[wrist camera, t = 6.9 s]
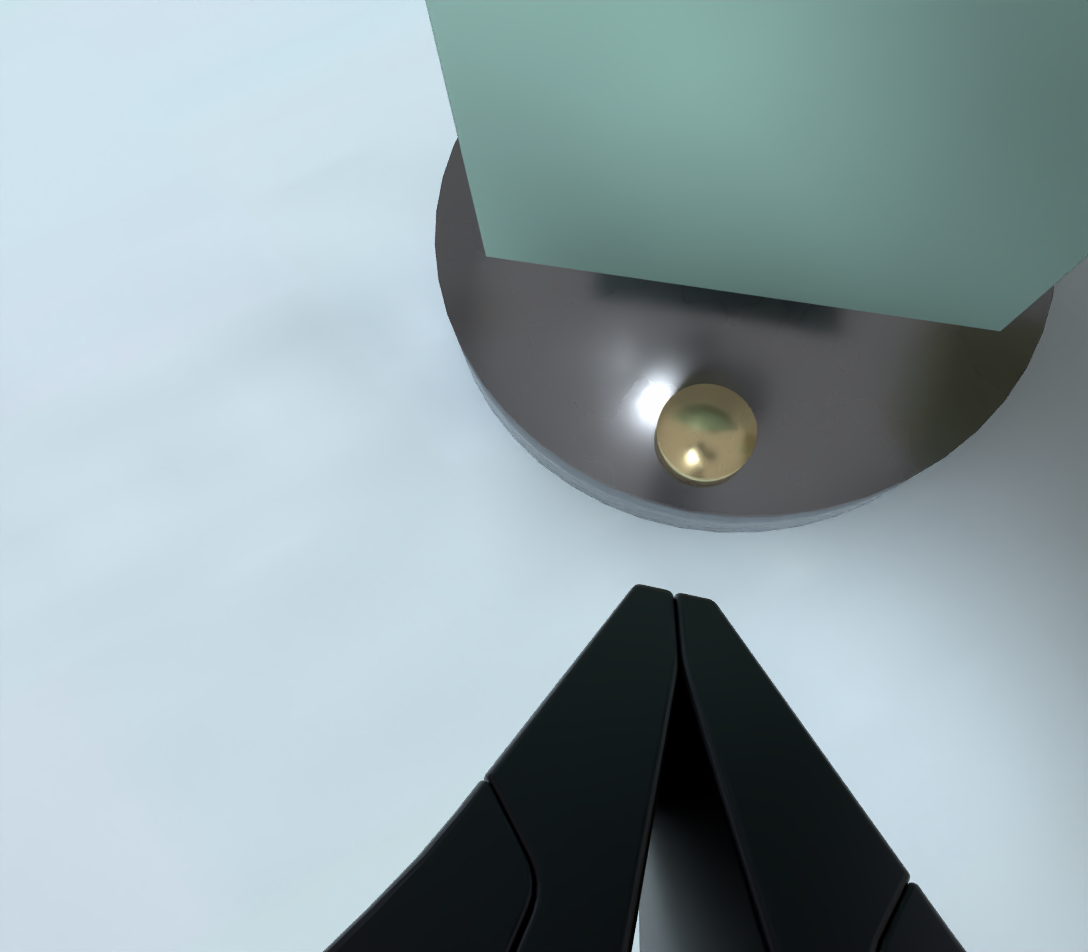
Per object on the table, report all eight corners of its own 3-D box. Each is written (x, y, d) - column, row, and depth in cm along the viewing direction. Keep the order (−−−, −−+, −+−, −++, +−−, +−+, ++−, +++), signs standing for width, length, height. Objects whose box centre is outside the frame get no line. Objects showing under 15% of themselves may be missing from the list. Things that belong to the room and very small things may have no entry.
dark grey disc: (992, 584, 16) (1071, 567, 14) (393, 475, 18) (358, 441, 15) (1019, 70, 20) (1087, -25, 17) (511, 15, 21) (499, -80, 19)
